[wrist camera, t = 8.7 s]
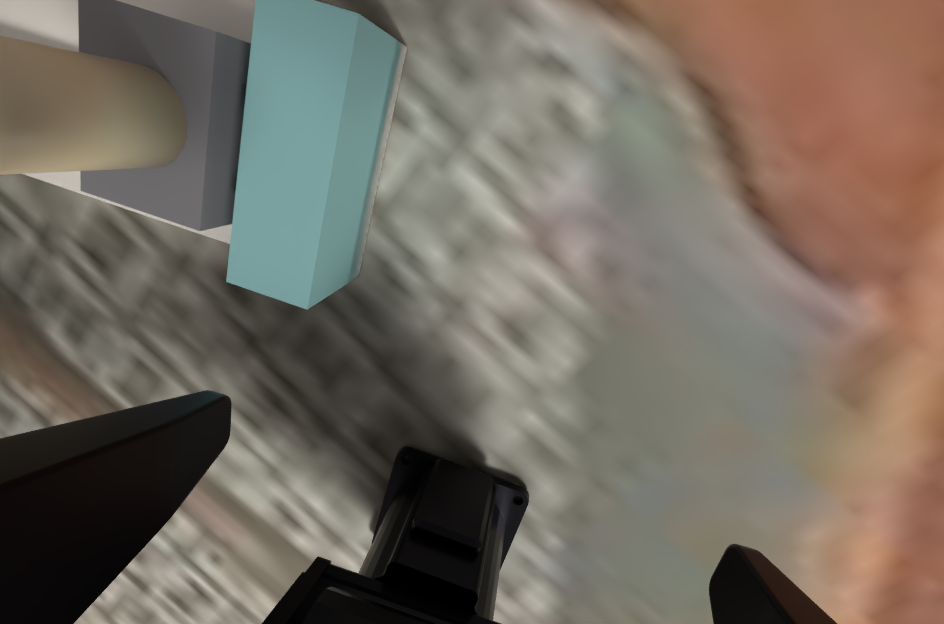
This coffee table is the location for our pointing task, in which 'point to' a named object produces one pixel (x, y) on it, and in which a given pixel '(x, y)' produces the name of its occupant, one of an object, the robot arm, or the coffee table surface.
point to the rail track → (280, 132)
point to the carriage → (131, 112)
